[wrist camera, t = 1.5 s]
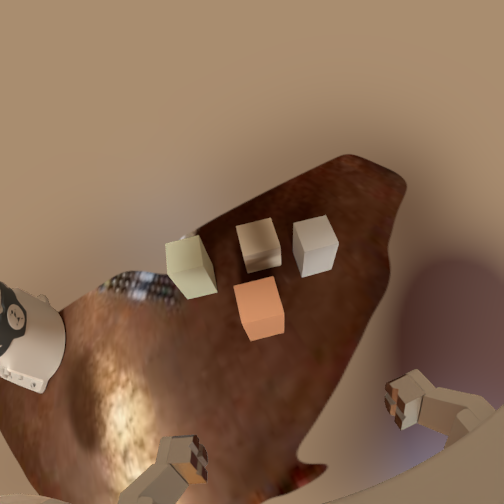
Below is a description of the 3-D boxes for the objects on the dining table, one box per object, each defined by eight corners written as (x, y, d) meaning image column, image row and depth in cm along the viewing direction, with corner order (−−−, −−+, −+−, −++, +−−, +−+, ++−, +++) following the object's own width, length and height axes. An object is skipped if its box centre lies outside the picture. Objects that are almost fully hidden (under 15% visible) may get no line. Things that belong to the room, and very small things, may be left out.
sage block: (187, 299, 39) (167, 274, 32) (184, 272, 41) (165, 243, 35) (217, 292, 39) (203, 265, 32) (212, 265, 42) (198, 235, 35)
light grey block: (301, 277, 39) (304, 252, 33) (292, 251, 41) (293, 222, 35) (331, 269, 39) (338, 243, 33) (320, 243, 41) (325, 215, 35)
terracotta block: (250, 341, 35) (242, 324, 28) (243, 309, 37) (233, 285, 31) (284, 332, 35) (284, 313, 28) (275, 301, 38) (273, 275, 31)
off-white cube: (247, 273, 40) (243, 256, 36) (240, 245, 43) (235, 226, 39) (281, 265, 40) (280, 246, 36) (272, 237, 43) (270, 217, 39)
